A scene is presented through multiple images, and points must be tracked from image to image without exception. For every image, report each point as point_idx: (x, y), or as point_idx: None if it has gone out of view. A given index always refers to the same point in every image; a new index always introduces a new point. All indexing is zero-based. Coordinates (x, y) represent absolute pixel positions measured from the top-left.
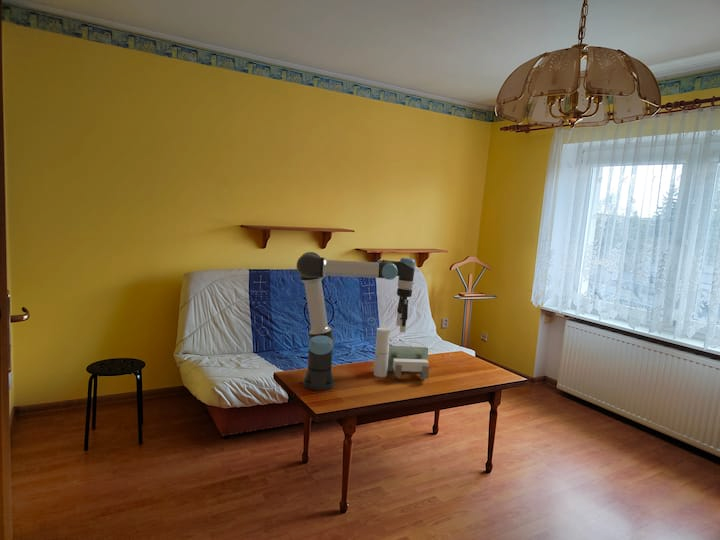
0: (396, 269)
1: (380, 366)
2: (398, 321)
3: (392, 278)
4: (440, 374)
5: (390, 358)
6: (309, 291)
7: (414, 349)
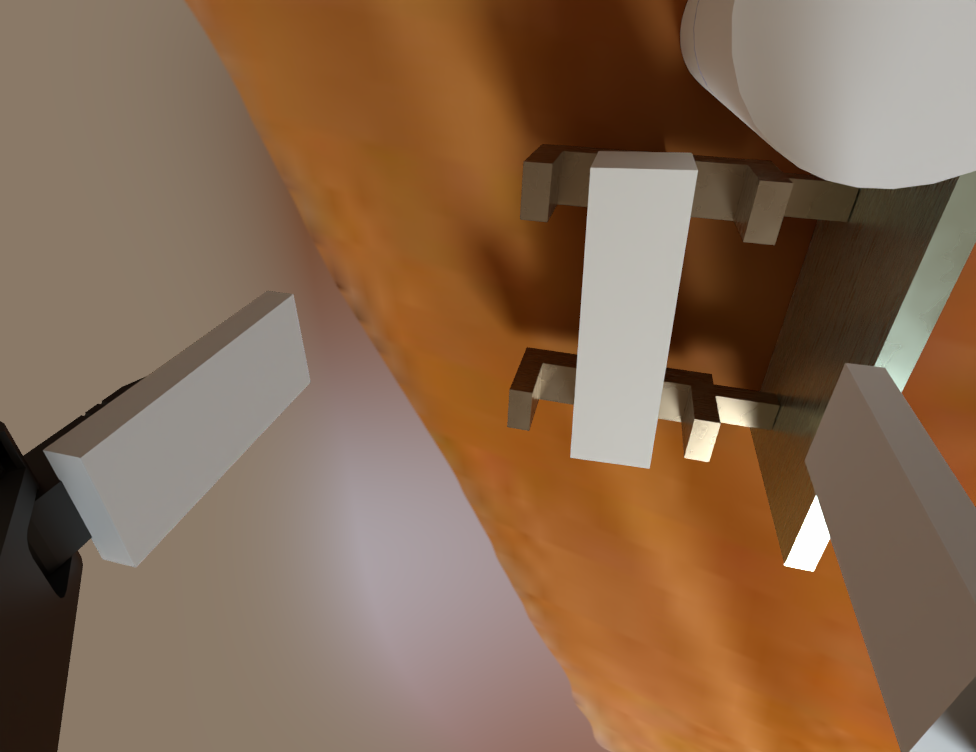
0: None
1: (690, 3)
2: (860, 467)
3: None
4: (706, 493)
5: None
6: None
7: None
